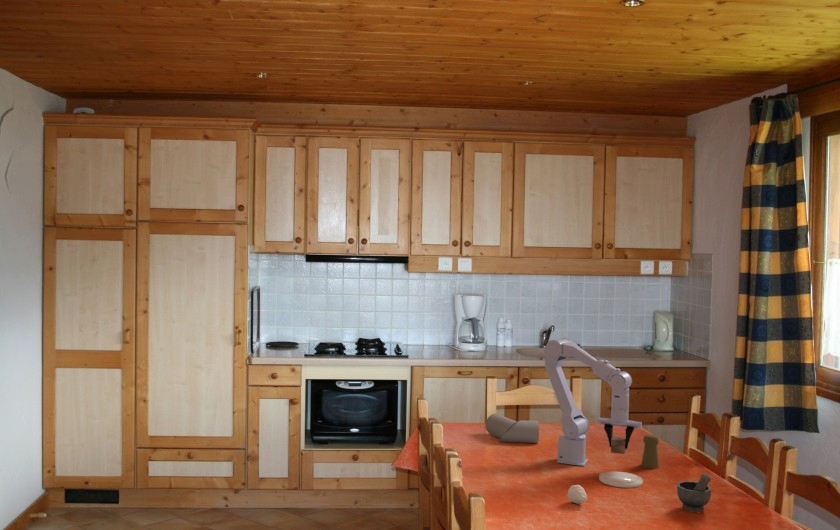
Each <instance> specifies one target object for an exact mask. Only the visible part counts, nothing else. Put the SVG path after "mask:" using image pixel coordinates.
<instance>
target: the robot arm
mask: <svg viewBox="0 0 840 530" xmlns="http://www.w3.org/2000/svg"><path fill="white" fill-rule="evenodd" d="M543 351H544V354H545V355H544V356H545V357H544V368H545V371H546V374H547V376H548V378H549V381H550V383H551V386H552V389H553V392H554V394H555V396H556V399H557V401H558V402H557V403H558V404H559V407H560V411H561V418H560V422H561V424H562V425H561V429H562V433H563V435H559V437H558V442H557V461H556V463H558V464H566V465H572V466H573V465H574V466H580V467H584V466H585V465H586V463H588V461H589V458H586V447H587V446H586V444H587V443H586V440H587V436H586V435H587V434H586V433H588V432H589V429H590V423H589V421H588V419H587V418H586V417H585V416H584V414H583V412H582V411H581V410H580V409H579V408H578V407H577V404H576V402H575V399H574V397H573V394H572V392H571V389H570V386H569V384H568V381H567V378H566V375H565V373H564V370H563V368H562V365H563V364H564V361H565V359H566V358H574V359H576V360H577V361H579V362H581V363H583V364H585V365H587V367H589V368H591V369H592V373H593V374H594V375H596V376H597V377H599V378H600V379H602V380H603V381H605V382H606V383H608V384H609V387H610V388H611V404H610V405H611V411H610V413H611V414H610V418H609V417H597V425H599V426H600V425H604V426H603V428H604V431H605V433H606V436H607V440H608V444H609V448H611V439H612V437H613V433H614V432H613V431H614V426H615V427H623V428H625V438H626V441H625V449H626V450H628V448H629V443H630V440H631V437H632V435H633V432H634V431H635V429H637V430H642V424H643V423H642V421H637V420H636V421H635V420H629V411H630V410H629V408H630V388H629V387H631V385H632V384H633V377H632V376H631V374H630V373H628V371H623V370H622V371H621V369H620V368H619V367H618V368H616V367H615V366H614V365H612V364H610V361H609V360H607V359H599V360H598V359H597V358H596V357H594V356H592V354H590V353H589V352H587V351H586V350H584V349H583V348H582V347H580V346H579V345H577V343H576V342H574V341H572V340H570V339H569V338H566V337H562V338H559V339H558V338H557V339H551V340H549V341H548V342H547V343H546V344H545V347H544V349H543Z"/></svg>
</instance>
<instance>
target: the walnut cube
mask: <svg viewBox="0 0 840 530" xmlns="http://www.w3.org/2000/svg"><path fill="white" fill-rule="evenodd" d="M625 441H626V437H622V436H613V435H612V439H611V447H610V453H612V454H622V455H625V454H626V451H627V449H625Z"/></svg>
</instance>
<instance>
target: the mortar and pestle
mask: <svg viewBox="0 0 840 530" xmlns="http://www.w3.org/2000/svg"><path fill="white" fill-rule="evenodd" d="M711 480H712V479H711V476H710V475H709V474H708V473H702V474H701V475H700V479H699V480H698V482H697V481H689V480H688V481H687V480H685V481H684V480H682V481H679V482H676V489H677V490H676V491H677V497H678V498H679V501H681V503H682V508H683V509H684V510H683V509H682V510H683V511H685V510H686V512H688V511H690V512H689V513H692V512H701V513H704V512H705V508H704V506H705V505H708V503H709V502H710V499H711V495H712V488H711V486H710V485H708V484H709V483H710V482H711ZM703 511H704V512H703Z"/></svg>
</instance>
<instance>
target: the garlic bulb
mask: <svg viewBox="0 0 840 530" xmlns="http://www.w3.org/2000/svg"><path fill="white" fill-rule="evenodd" d="M567 499H568V501H570V502H571V503H574V504H577V505H578V504H581V503H584V502H587V501H588V497H587V493H586V491H585V488H584V487H583V486H581V485H580V484H574V485H573V484H572V485H571V486H570V487H569V488H568V491H567Z"/></svg>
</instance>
